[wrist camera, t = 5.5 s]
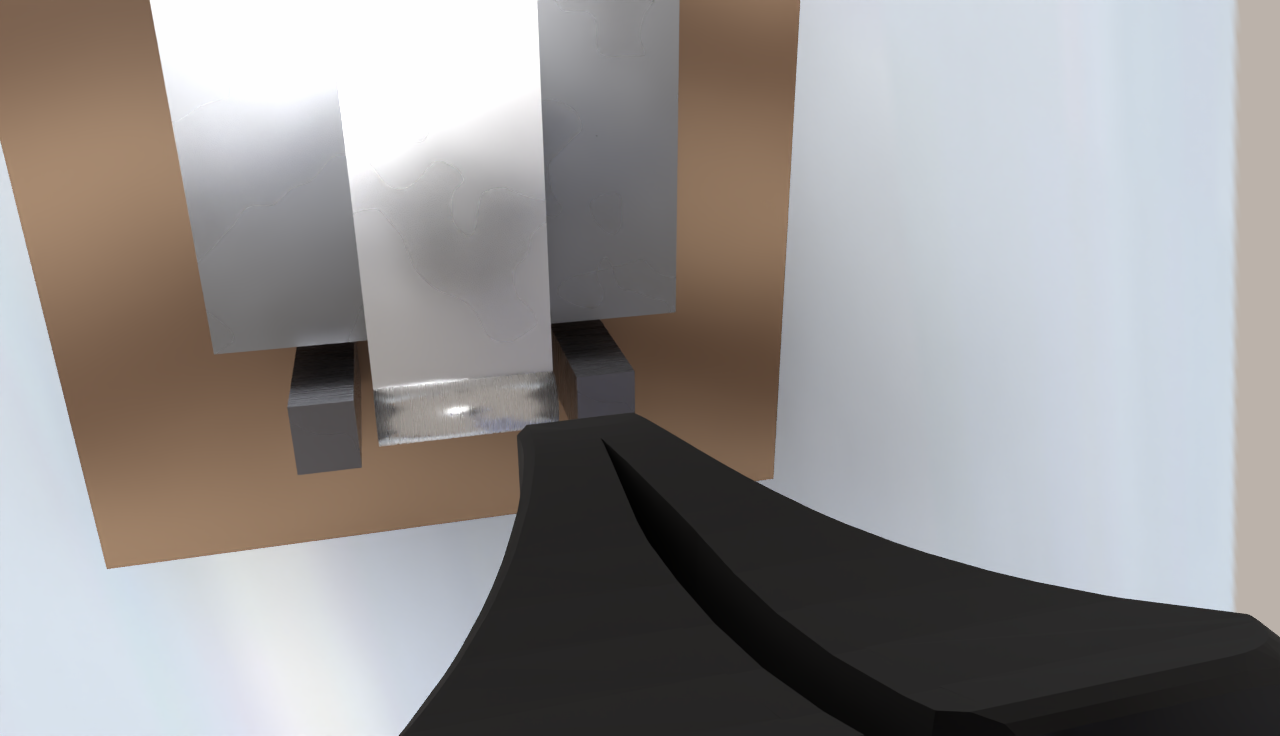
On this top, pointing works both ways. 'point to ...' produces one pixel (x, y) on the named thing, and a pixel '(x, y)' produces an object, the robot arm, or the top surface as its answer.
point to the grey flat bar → (448, 212)
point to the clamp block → (322, 209)
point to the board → (260, 380)
